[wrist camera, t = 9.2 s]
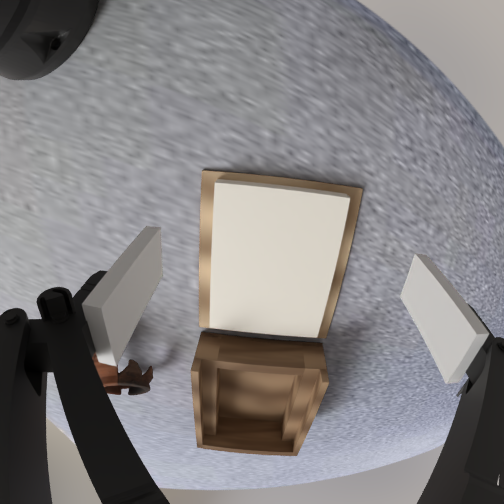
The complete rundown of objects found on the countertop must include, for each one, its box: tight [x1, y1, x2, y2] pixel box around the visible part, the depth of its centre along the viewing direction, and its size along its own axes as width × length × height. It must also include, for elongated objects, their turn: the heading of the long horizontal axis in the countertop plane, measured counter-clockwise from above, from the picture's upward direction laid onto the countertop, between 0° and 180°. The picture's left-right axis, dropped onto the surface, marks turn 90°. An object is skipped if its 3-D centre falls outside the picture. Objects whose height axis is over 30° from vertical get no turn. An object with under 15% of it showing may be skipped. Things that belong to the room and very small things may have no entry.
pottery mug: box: [92, 352, 153, 395], centre depth 37 cm, size 12×10×8 cm
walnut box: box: [191, 332, 329, 456], centre depth 37 cm, size 18×15×6 cm
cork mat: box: [199, 170, 363, 338], centre depth 32 cm, size 18×15×1 cm
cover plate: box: [209, 179, 350, 338], centre depth 31 cm, size 16×12×2 cm
